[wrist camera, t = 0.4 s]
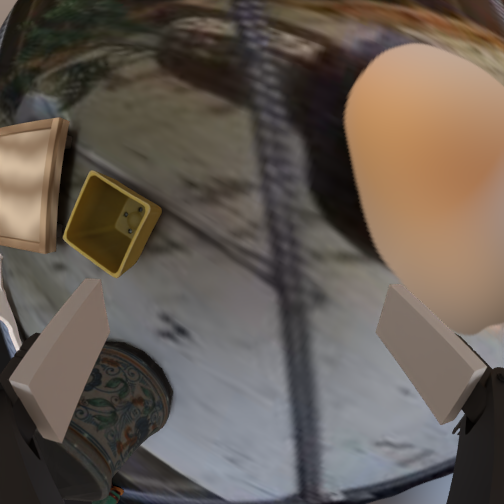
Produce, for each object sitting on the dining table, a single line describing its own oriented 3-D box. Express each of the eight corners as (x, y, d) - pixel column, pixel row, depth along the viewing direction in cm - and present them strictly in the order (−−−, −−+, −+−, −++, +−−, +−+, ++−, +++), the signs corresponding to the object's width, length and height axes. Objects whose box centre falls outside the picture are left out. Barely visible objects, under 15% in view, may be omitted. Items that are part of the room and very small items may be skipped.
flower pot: (98, 232, 38) (60, 239, 29) (124, 175, 37) (89, 168, 28) (147, 265, 38) (117, 280, 29) (177, 206, 37) (152, 206, 28)
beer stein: (182, 428, 42) (138, 550, 17) (85, 412, 43) (15, 497, 18) (166, 341, 40) (78, 466, 15) (60, 332, 40) (-44, 403, 16)
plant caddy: (10, 135, 36) (-13, 131, 30) (82, 126, 36) (59, 117, 30) (0, 236, 39) (-23, 240, 33) (69, 247, 38) (45, 253, 32)
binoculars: (76, 491, 36) (113, 522, 35) (98, 465, 46) (131, 493, 46) (61, 495, 37) (94, 524, 36) (82, 472, 47) (112, 498, 47)
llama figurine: (21, 264, 46) (29, 356, 41) (-20, 250, 35) (-17, 355, 30) (26, 262, 46) (34, 355, 41) (-16, 247, 35) (-12, 355, 30)
